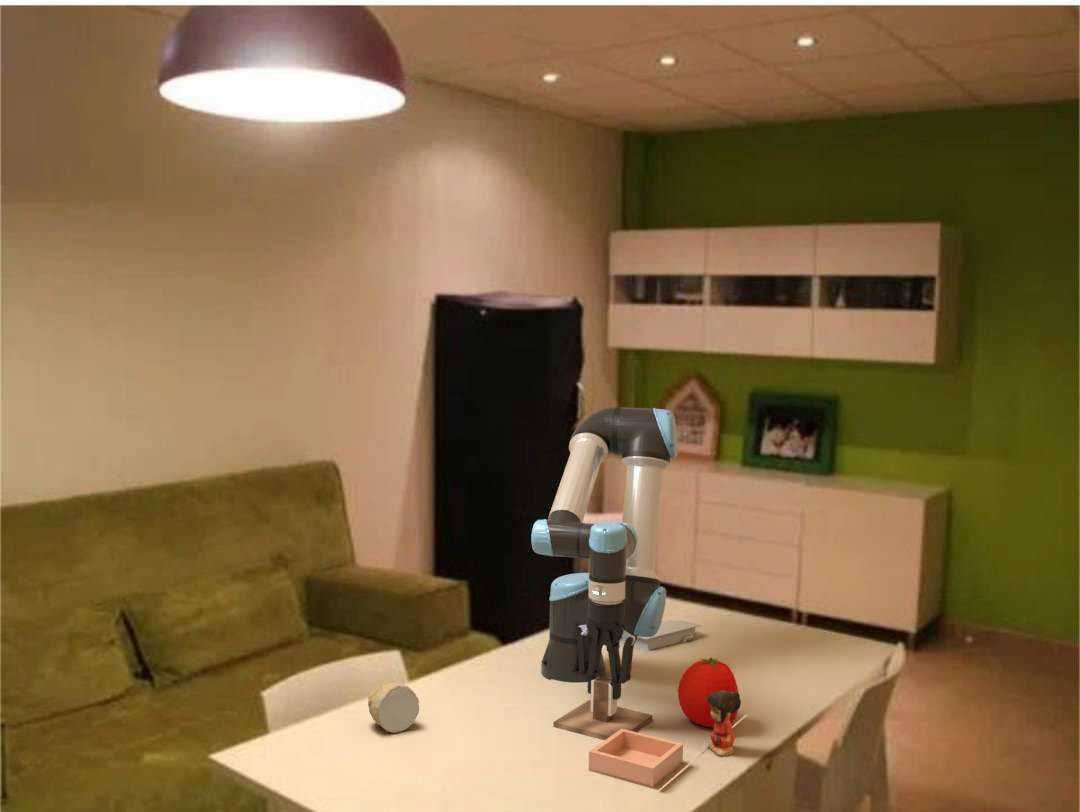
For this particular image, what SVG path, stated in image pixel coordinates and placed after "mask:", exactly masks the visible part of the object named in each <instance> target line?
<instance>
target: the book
mask: <svg viewBox="0 0 1080 812" xmlns="http://www.w3.org/2000/svg"><path fill="white" fill-rule="evenodd" d="M701 626H702V625H701V624H698V623H695V622H690V621H685V620H677V619H675V620H674V619H672V620H671V619H670V620H662V621H661V625H660V627H659V630H658V632H657V633H656V634H655V635H654V636H652V637H637V640H636V642H635V644H634V647H637V648H639V649H643V650H646V651H652V650H655V649H659V648H662V647H666V646H671V645H674V644H677V643H687V641H688V642H689V643H690V642H691V639H692V642H693V641H694V640H695V638H694V637H695V636H694V634H696V628H698V627H701ZM620 641H621V642H623V637H622V638H621V639H620V640H619V642H620Z"/></svg>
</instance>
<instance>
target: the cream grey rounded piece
mask: <svg viewBox="0 0 1080 812" xmlns="http://www.w3.org/2000/svg"><path fill="white" fill-rule="evenodd" d="M367 706H368V712H369V714H370V715H371V718H372V720H373V721H374V722H375V724H378V726H380V727H381V728H383V730H384V731H385V732H388V733H389V732H390V733H393V734H397V733H401V732H403V731H404V730H407V729H408V728H409V727H411V725H413V724H414V723H415V721H416V720H417V716H418V715H419V713H420V701H419V698H418V696H417V694H416V693H415V692H414V690H412V689H411V688H410V687H409V686H408V685H405V684H402V683H399V682H395V681H391V682H389V683H385V684H382V685H379V686H378V687H376V688H375V689H373V690H372V691H370V692H369V695H368V699H367Z"/></svg>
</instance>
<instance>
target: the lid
mask: <svg viewBox="0 0 1080 812" xmlns="http://www.w3.org/2000/svg"><path fill="white" fill-rule="evenodd" d="M611 682H612V680H611V678H608V677H605V676H604V677H600V678H598V679H597V680H595V681H594V696H593V712H591V699H589V700H586V701H585V702H583V703H581V704H580V705H579V706H577V707H575V708H574V709H572V710H570V711H569V712H567V713H566V714H564V715H563V716H561V717H559V718H557V719H555V720H554V721H553V727H554V728H556V729H557V728H558V729H561V730H566V731H568V732H573V733H577V734H581V735H585V736H588V737H593V738H596V739H598V740H599V739H600V740H603V741H605V740H606V739H607V738H609V737H610V736H612V735H613V734H615V733H616V732H617V731H619V730H620V729H625V730H629V731H633V732H637V731H639V730H640V729H642V728H643V727H644V726H645V725H647V724H648V723H649V722H651V721H652V720H653V714H650V713H645V712H643V711H642V712H641V711H637V710H634V709H629V708H624V707H621V706H617V712H616V713H615V714H613V715H612V716H608V715H607V712H608V684H610V683H611Z"/></svg>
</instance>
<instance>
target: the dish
mask: <svg viewBox="0 0 1080 812" xmlns="http://www.w3.org/2000/svg"><path fill="white" fill-rule="evenodd" d="M683 758H684V744H683V743H681V742H676V741H673V740H668V739H665V738H661V737H657V736H652V735H649V734H645V733H641V732H637V731H636V732H633V731H629V730H625V729H620V730H619V731H617V732H616V733H615V734H613V735H612V736H610V737H609V738H607V739H606V740H603V741H601V743H599V744H597V745H596V746H595V747H593V748H592V749H590V750H589V751H588V771H589V772H593V773H596V774H600V775H604V776H608V777H611V778H614V779H619V780H621V781H625V782H628V783H632V784H635V785H640V786H643V787H645V788H649V789H654V788H655V787H656V786H657V785H659V784H660V783H661V782H662V781H663V780H664V779H665V778H667V777H668V776H669V775H670V774H671V773H673V771H675V770H676V769H677V768H678V767H680V766H681V765H682V764H683V760H684V759H683Z"/></svg>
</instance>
